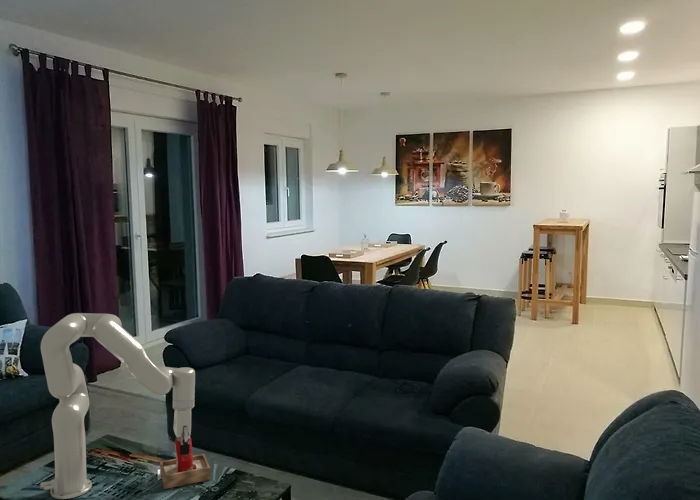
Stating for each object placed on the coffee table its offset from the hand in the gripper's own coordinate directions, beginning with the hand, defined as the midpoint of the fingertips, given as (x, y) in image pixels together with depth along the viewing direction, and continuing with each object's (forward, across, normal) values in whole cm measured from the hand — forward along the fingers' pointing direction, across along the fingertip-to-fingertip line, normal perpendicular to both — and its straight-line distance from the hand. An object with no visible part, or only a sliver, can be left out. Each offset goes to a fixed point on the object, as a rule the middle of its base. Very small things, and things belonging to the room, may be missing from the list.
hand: (182, 448), depth 195 cm
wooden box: (+10, 0, +1) cm, 10 cm away
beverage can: (+11, 0, +1) cm, 11 cm away
